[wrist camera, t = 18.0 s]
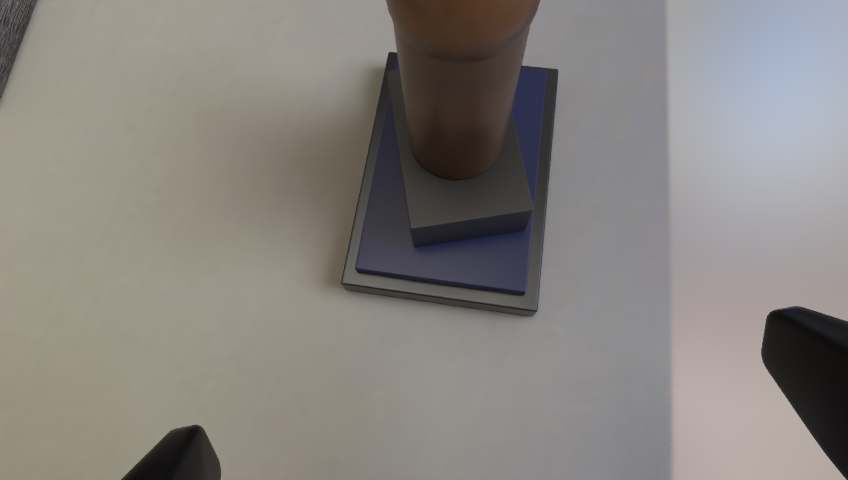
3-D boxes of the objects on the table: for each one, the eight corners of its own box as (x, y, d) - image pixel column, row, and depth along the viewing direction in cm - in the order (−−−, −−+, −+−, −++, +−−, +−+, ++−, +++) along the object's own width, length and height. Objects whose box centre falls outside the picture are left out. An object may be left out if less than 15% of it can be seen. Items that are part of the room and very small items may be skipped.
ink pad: (533, 317, 19) (539, 309, 18) (345, 290, 20) (337, 280, 18) (554, 83, 22) (561, 60, 21) (390, 66, 23) (387, 43, 21)
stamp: (525, 230, 19) (614, 28, 9) (413, 247, 19) (377, 63, 9) (493, 87, 20) (537, -211, 11) (392, 102, 20) (343, -183, 11)
